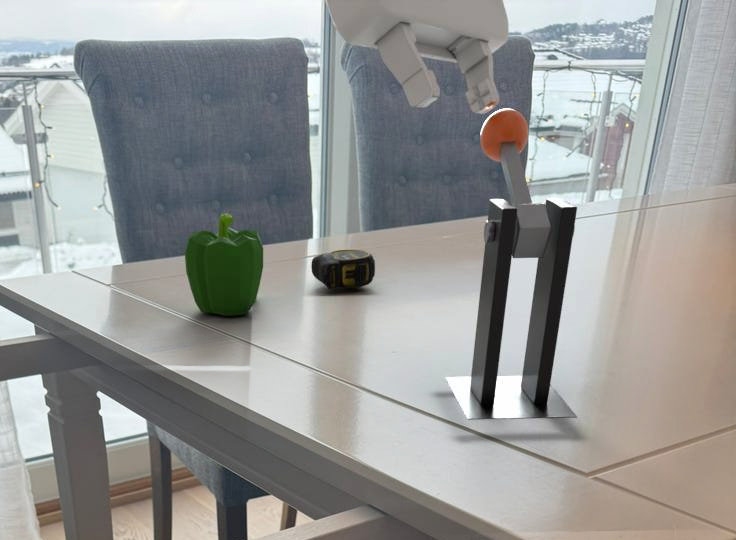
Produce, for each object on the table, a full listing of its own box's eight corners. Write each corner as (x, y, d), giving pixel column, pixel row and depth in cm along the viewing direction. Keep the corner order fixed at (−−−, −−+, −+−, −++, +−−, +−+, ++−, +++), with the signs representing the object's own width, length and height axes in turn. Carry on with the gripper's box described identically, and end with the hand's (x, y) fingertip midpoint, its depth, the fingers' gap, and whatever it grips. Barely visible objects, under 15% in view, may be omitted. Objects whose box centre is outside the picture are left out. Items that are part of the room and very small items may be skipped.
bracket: (443, 391, 77) (461, 194, 69) (541, 389, 76) (570, 191, 68) (465, 434, 68) (489, 215, 60) (575, 433, 68) (613, 212, 60)
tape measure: (309, 283, 111) (310, 250, 109) (365, 279, 112) (366, 246, 110) (323, 296, 106) (323, 261, 104) (381, 292, 107) (382, 257, 105)
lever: (473, 145, 74) (482, 99, 71) (518, 144, 74) (529, 98, 71) (500, 266, 66) (511, 220, 63) (551, 265, 66) (564, 219, 63)
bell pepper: (194, 302, 104) (189, 205, 99) (267, 303, 103) (266, 204, 98) (181, 321, 97) (174, 218, 92) (259, 322, 96) (257, 217, 91)
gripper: (338, -159, 56) (423, 67, 58) (487, -92, 70) (552, 87, 72) (266, -81, 60) (347, 127, 62) (420, -33, 75) (482, 135, 76)
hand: (458, 106), depth 67 cm, fingers open, 8 cm apart
